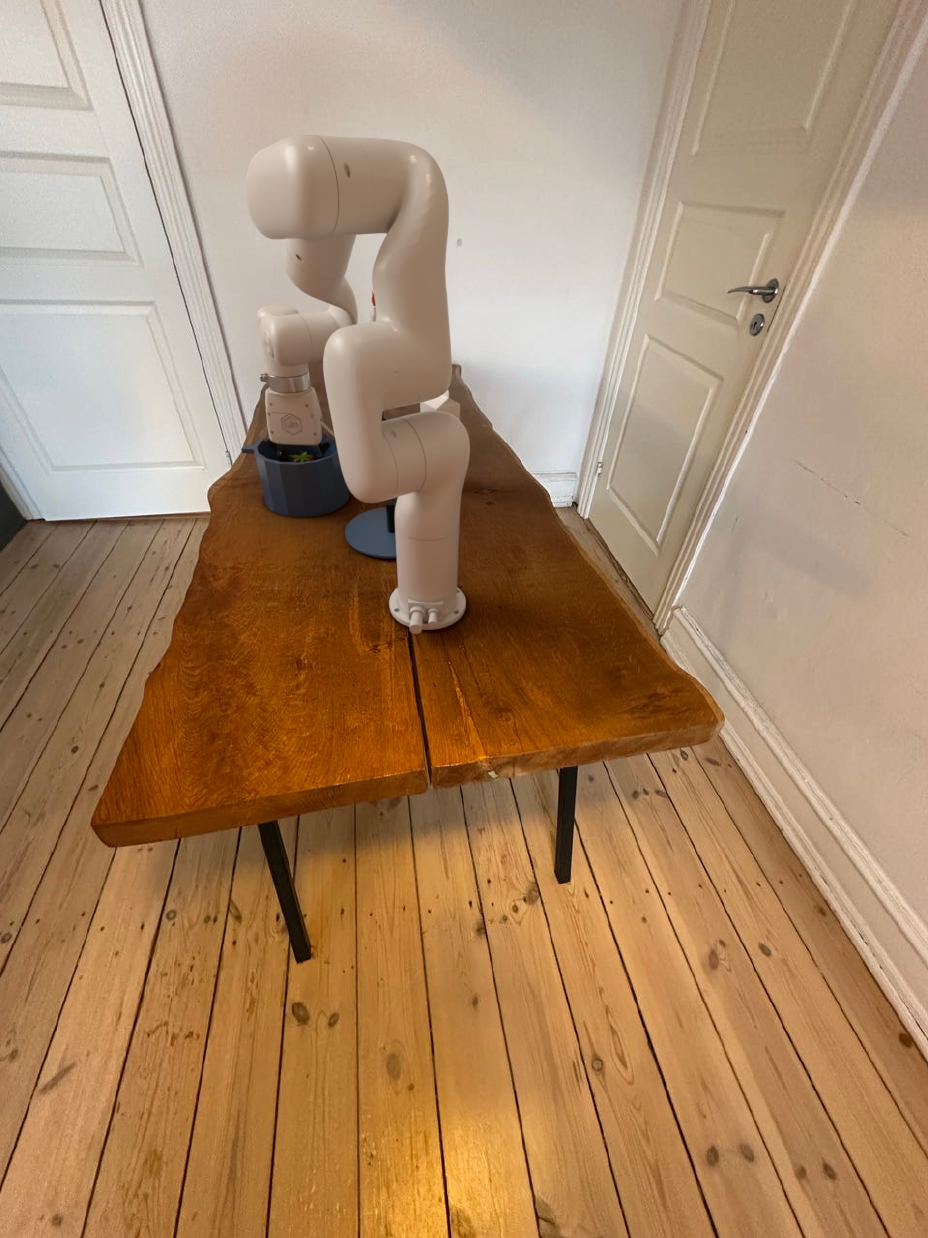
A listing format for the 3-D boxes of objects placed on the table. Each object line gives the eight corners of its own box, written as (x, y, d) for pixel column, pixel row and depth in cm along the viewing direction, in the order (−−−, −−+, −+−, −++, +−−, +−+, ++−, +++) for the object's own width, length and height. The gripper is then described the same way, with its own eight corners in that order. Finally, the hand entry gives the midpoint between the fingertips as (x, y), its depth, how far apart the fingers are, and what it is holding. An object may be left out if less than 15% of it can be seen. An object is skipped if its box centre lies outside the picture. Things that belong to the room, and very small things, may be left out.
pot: (354, 519, 111) (349, 466, 104) (241, 515, 111) (227, 461, 103) (367, 480, 125) (363, 430, 117) (265, 476, 124) (255, 426, 117)
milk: (435, 495, 120) (436, 393, 106) (420, 485, 124) (418, 384, 110) (458, 488, 123) (461, 387, 109) (442, 478, 127) (443, 379, 113)
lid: (439, 563, 100) (439, 529, 96) (337, 559, 100) (332, 525, 96) (442, 512, 115) (443, 481, 110) (354, 509, 114) (350, 477, 110)
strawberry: (290, 501, 114) (281, 455, 108) (296, 484, 120) (288, 440, 113) (319, 501, 114) (312, 455, 108) (323, 484, 120) (317, 440, 114)
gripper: (236, 386, 99) (257, 478, 111) (331, 390, 100) (342, 481, 111) (249, 373, 105) (267, 462, 117) (339, 377, 105) (348, 465, 117)
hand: (303, 471), depth 114 cm, fingers closed on strawberry, 5 cm apart
